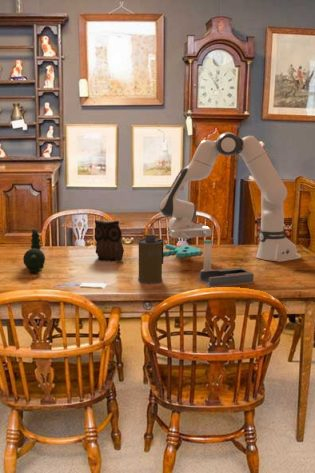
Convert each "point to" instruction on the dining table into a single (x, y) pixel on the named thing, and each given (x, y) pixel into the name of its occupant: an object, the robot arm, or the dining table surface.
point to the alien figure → (182, 251)
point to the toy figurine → (34, 254)
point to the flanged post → (207, 255)
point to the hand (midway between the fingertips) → (196, 235)
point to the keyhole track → (226, 277)
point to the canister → (150, 259)
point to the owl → (108, 241)
